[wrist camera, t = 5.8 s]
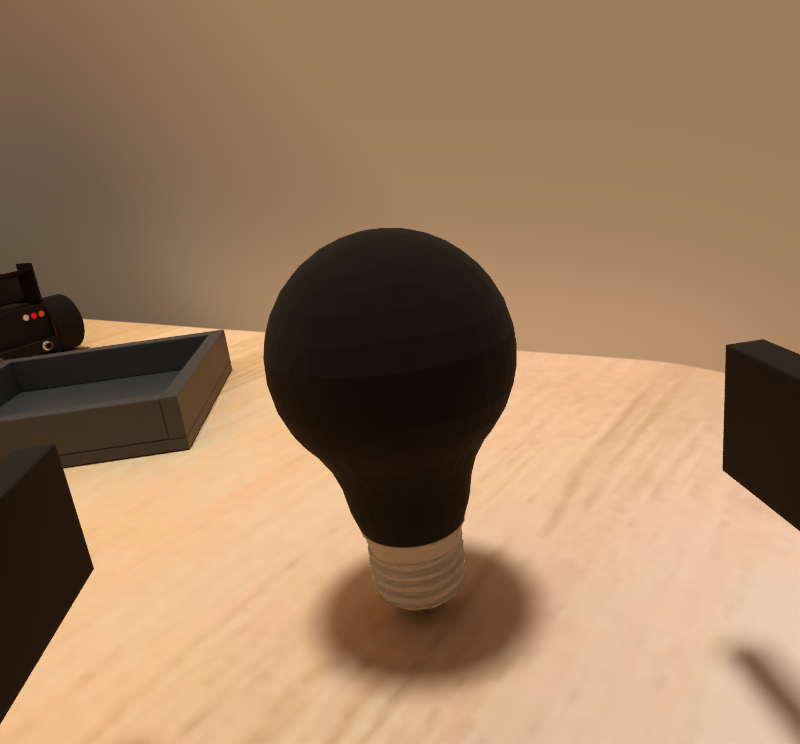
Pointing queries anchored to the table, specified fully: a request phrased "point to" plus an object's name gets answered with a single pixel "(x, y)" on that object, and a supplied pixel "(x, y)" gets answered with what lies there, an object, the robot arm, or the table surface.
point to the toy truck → (35, 318)
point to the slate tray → (113, 397)
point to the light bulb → (395, 392)
